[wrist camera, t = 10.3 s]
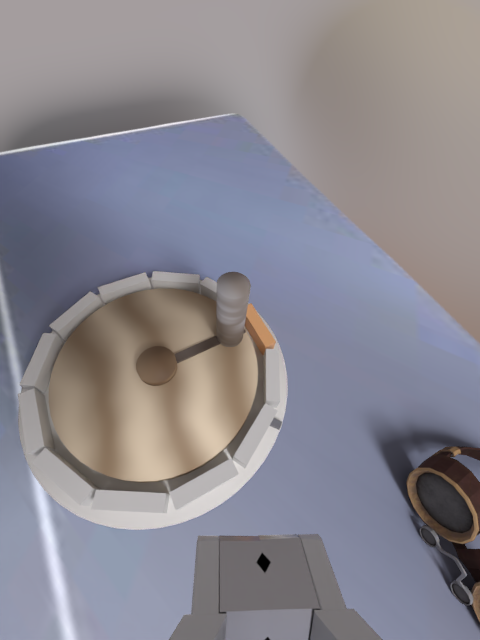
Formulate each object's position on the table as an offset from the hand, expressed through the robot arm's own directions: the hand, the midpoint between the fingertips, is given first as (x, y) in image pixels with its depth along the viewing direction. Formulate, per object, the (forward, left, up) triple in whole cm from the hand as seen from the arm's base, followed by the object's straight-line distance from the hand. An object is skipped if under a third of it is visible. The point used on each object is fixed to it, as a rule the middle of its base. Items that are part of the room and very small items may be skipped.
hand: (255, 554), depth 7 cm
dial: (-12, +10, -22) cm, 27 cm away
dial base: (-12, +10, -24) cm, 28 cm away
